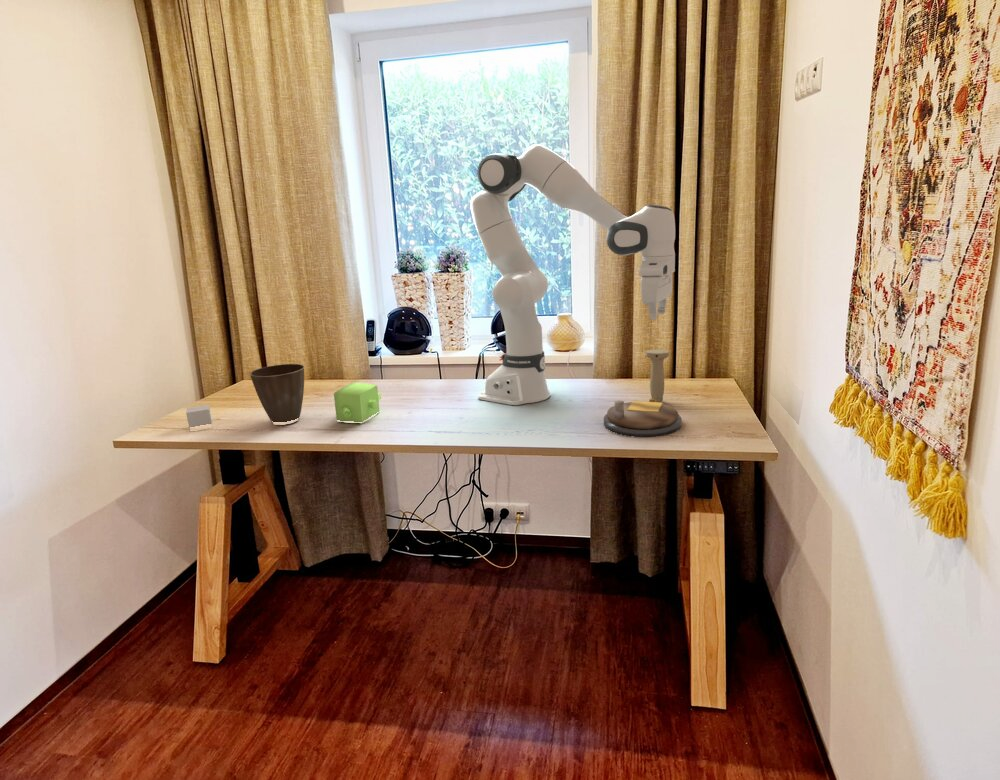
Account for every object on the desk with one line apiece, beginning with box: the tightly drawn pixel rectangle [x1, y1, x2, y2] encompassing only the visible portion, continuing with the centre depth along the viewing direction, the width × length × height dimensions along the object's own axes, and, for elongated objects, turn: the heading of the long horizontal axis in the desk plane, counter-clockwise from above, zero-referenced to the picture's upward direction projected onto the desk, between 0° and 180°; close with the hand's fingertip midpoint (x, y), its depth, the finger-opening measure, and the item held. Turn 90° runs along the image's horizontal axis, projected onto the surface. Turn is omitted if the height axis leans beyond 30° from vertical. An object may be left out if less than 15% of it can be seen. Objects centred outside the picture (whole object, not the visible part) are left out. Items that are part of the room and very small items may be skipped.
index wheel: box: [606, 400, 679, 429], centre depth 162 cm, size 18×18×6 cm
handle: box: [645, 349, 670, 403], centre depth 179 cm, size 5×6×15 cm
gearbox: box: [333, 382, 382, 422], centre depth 181 cm, size 18×10×10 cm, turn 162°
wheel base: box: [603, 398, 683, 438], centre depth 164 cm, size 20×21×4 cm
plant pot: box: [249, 363, 305, 422], centre depth 182 cm, size 15×15×16 cm
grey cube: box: [185, 404, 213, 428], centre depth 184 cm, size 6×6×6 cm
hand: (657, 316), depth 174 cm, fingers open, 8 cm apart
